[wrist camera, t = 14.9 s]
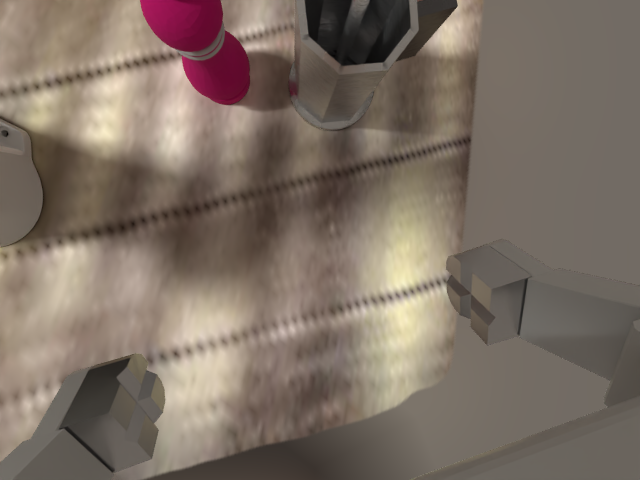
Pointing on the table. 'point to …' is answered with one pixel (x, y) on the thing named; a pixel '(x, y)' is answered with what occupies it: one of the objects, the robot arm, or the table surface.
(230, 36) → the pepper mill
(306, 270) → the table surface
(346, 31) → the plunger
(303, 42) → the press
